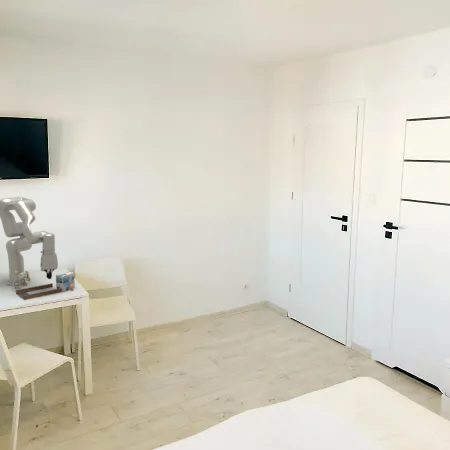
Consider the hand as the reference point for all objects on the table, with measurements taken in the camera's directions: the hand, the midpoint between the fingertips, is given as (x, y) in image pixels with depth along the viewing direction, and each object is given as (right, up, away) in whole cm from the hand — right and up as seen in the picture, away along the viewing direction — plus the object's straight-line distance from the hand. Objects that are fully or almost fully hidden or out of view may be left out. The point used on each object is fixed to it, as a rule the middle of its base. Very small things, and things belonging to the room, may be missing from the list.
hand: (49, 278), depth 305 cm
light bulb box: (+9, -8, +5) cm, 13 cm away
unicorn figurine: (-19, -7, +6) cm, 22 cm away
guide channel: (-5, -9, -5) cm, 11 cm away
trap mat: (-12, -10, -11) cm, 19 cm away
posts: (+9, -7, +8) cm, 14 cm away
